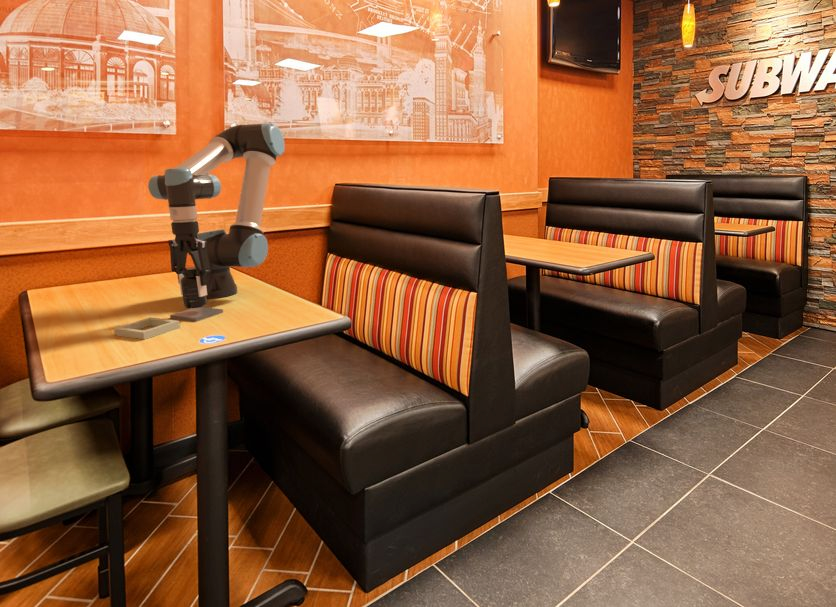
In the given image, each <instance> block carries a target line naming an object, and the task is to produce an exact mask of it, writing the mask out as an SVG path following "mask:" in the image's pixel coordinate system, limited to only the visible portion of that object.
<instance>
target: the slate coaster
mask: <svg viewBox="0 0 836 607" xmlns="http://www.w3.org/2000/svg"><path fill="white" fill-rule="evenodd" d="M223 313H224V309H221V308H214V307H213V308H212V307H205V306H203V307H199V308H187V309H185V310H183V311H178V312H176V313H173V314H170V315H169V318H170V319H171V320H179V321H180V320H181V321H189V322H198V321H202V320H205V319H207V318H211V317H214V316H216V315H219V314H223Z"/></svg>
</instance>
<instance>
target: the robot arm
mask: <svg viewBox="0 0 836 607" xmlns="http://www.w3.org/2000/svg"><path fill="white" fill-rule="evenodd" d="M208 142H209V143H208V145H206V146H204V147H203V148H201V149H200V150H199V151H197V152H196V153H194V154H193V155H191V156H190V157H188V158H187V159H186V160H184V161H183V162H181V163H180V164H178V165H177V166H176V167H175V168H174V167H173V168H166V169H165V170H164V174H163V175H161V174H158V175H154V176H152V177H150V179H149V180H148V185H147V187H148V192H149V193H150V195H151V196H152V197H153V198H154V199H156V200H165V201H168V210H169V211H168V212H169V217H170V220H171V221H172V222H171V232H172V235H174V236H175V238H174V239H170V240H168V241H167V242H168V246H169V255H170V268H171V272H172V273H175V274H177V280H178V284H179V286H180V287H179V288H180V295H181V296H182V290H181V283H180V280H181V279H182V278H183V277H184V275H183V274H182V273H183V272H182V269H184V268H187V267H186V266H187V259H188V258H187V257H188V255H189V256H190V257H191V260H192V262H193V265H194V267H195V268H196V270H197V273H198V274H197V276H196V279H197V286H198V294H199V297H202V296H206V298H207V299H217V298H225V297H229V296H234V295H235V294H238V286H237V284H236V283H235V279H234V277H233V274H232V273H231V267H233V268H234V267H237V268H238V267H239V268H254V267H259V266H260V265H262V264H263V263H264V262H265V260H266V258H267V255H268V252H269V245H268V239H267V237H266V236H265V235H264V233H265V232H264V231H263V229H262V228H261V225H262V218H263V213H264V212H263V211H264V207H265V206H264V205H265V200H266V194H267V189H268V184H269V177H270V171H271V167H273V166H274V165H276V161H277V158H278V157H281V156H282V155H283V154H285V149H286V148H285V147H286V146H285V144H286V143H285V139H284V135H283V132H282V131H281V130H280V128H279V126H278V125H276V124H275V123H266V122H263V123H252V124H236V125H234V126H231V127H229V128H226V129H225V130H222V131H221V132H220V133H218V134H216V135H215V136H214V137H212V138H211V139H210V140H209V141H208ZM238 158H243V159H244V161H245V166H244V167H245V168H244V171H243V177H242V184H241V189H240V196H239V201H238V206H237V211H236V216H235V222H234V223H232V224H230V226H229V230H228V233H227V232H226V230H225V229H224V228H222V229H216V230H210V231H203V232H200V228H199V222H198V221H197V220H198V211H197V206H196V200H204V199H213V198H216V197H218V196H220V193H221V191H222V185H221V181H220V179H219V178H218V177H217V176H215V174H211V172H212V171H213V170H215V169H216V168H218V167H219V166H221V164H223V163H229V162H231V160H233V159H234V160H235V159H238Z"/></svg>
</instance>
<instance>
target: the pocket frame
mask: <svg viewBox="0 0 836 607" xmlns="http://www.w3.org/2000/svg"><path fill="white" fill-rule="evenodd" d="M147 326H148V327H150V326H152V327H151V328H148V329H145V330H143V329H144V328H147ZM180 328H181V325H180V320H177V319H166V318H160V317H159V318H158V317H151V316H150V317H146V318H144V319H141V320H137V321H134V322H131V323H126V324H123V325H120V326H117V327H114V328H113V331H114V336H118V337H126V338H131V339H137V338H138V339H139V340H144V339H145V340H148V339H150V337H151V338H153V336H154V337H156V335H157V336H160V335H163V334H165V332H166V333H168V331H169V332H171V331H174V330H177V329H180ZM162 333H163V334H162ZM159 334H160V335H159ZM147 338H148V339H147Z"/></svg>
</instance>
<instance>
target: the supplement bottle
mask: <svg viewBox="0 0 836 607" xmlns="http://www.w3.org/2000/svg"><path fill="white" fill-rule="evenodd" d="M182 272H183V273H182V274H183V275H184V277H183V278H182V279H181V280H180V283H181V289H180V291H181V290H182V295H181V296H182V301H183V307H184V308H186V309H191V308H199V307H205V306H206V305H207V303H208V301H207V300H208V298H206V296H202V297H199V294H198V286H197V279H196V276H197V274H198V273H197V270H196V268H195V266H190V267H185V268H184V269H182Z"/></svg>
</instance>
